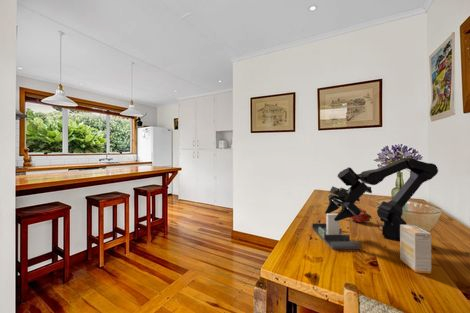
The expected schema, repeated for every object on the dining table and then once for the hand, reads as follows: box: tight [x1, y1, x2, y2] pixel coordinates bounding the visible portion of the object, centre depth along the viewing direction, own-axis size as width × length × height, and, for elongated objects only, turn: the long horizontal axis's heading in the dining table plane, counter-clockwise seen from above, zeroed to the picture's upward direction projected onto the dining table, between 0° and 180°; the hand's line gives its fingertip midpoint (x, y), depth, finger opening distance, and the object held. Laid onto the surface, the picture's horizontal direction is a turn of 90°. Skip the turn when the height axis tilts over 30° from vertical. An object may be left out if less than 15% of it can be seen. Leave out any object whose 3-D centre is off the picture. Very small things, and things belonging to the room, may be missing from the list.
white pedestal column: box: [325, 212, 340, 235], centre depth 91 cm, size 5×4×10 cm
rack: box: [311, 222, 361, 250], centre depth 91 cm, size 11×22×4 cm, turn 179°
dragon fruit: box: [349, 207, 373, 224], centre depth 112 cm, size 8×8×12 cm
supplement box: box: [399, 224, 432, 275], centre depth 68 cm, size 8×5×13 cm, turn 168°
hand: (330, 217), depth 91 cm, fingers open, 9 cm apart
